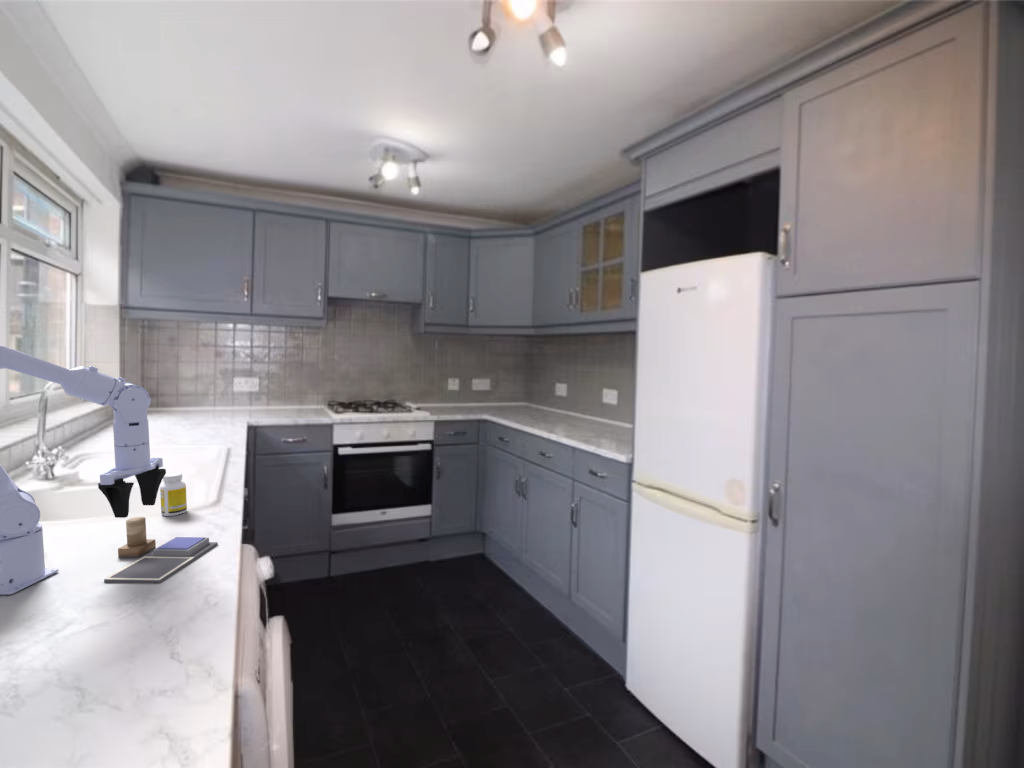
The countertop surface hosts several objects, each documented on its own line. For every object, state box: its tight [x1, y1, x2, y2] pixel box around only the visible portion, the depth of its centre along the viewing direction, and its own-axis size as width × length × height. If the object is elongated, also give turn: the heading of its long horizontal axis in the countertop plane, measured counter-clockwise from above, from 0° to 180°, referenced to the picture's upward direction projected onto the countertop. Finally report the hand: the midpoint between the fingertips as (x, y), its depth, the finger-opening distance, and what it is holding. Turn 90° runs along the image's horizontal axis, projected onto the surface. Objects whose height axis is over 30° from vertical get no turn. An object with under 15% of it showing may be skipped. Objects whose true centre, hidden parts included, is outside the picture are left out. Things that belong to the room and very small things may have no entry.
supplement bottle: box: [159, 472, 188, 517], centre depth 132 cm, size 5×5×10 cm
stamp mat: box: [103, 536, 219, 584], centre depth 103 cm, size 18×10×2 cm, turn 179°
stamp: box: [117, 516, 157, 559], centre depth 107 cm, size 5×4×7 cm
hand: (135, 510), depth 107 cm, fingers open, 7 cm apart
